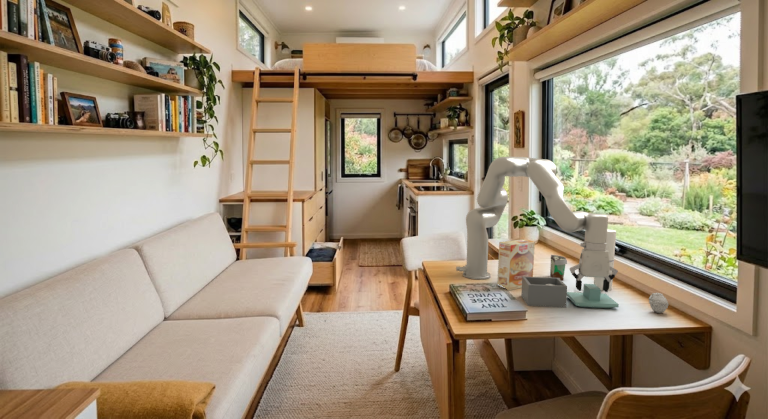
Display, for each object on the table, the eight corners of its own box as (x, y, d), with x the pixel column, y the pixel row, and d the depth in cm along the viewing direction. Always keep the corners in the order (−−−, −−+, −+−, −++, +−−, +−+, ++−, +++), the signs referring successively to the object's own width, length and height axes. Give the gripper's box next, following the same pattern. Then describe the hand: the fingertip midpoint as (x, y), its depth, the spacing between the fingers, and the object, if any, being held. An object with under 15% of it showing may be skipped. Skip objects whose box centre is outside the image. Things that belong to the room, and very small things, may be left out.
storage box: (527, 305, 174) (528, 284, 173) (521, 295, 186) (522, 276, 185) (566, 307, 172) (567, 286, 171) (557, 297, 184) (558, 277, 183)
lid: (575, 308, 172) (577, 290, 171) (565, 297, 184) (566, 281, 184) (618, 310, 170) (619, 292, 169) (605, 299, 183) (606, 282, 182)
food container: (568, 283, 204) (569, 261, 203) (553, 282, 206) (555, 260, 204) (563, 276, 216) (564, 255, 215) (549, 275, 218) (550, 254, 216)
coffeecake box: (509, 290, 192) (511, 244, 190) (496, 286, 198) (498, 241, 196) (533, 285, 200) (535, 241, 198) (520, 281, 206) (522, 238, 204)
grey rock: (659, 309, 172) (661, 290, 171) (672, 315, 165) (673, 296, 164) (643, 309, 172) (645, 290, 171) (655, 315, 165) (657, 296, 164)
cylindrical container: (610, 291, 193) (615, 232, 190) (592, 288, 197) (596, 230, 194) (612, 287, 199) (617, 230, 196) (594, 284, 203) (598, 228, 200)
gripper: (574, 247, 172) (571, 292, 174) (623, 249, 170) (619, 294, 172) (568, 243, 179) (565, 286, 181) (615, 245, 177) (611, 288, 179)
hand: (592, 290), depth 177 cm, fingers open, 9 cm apart
